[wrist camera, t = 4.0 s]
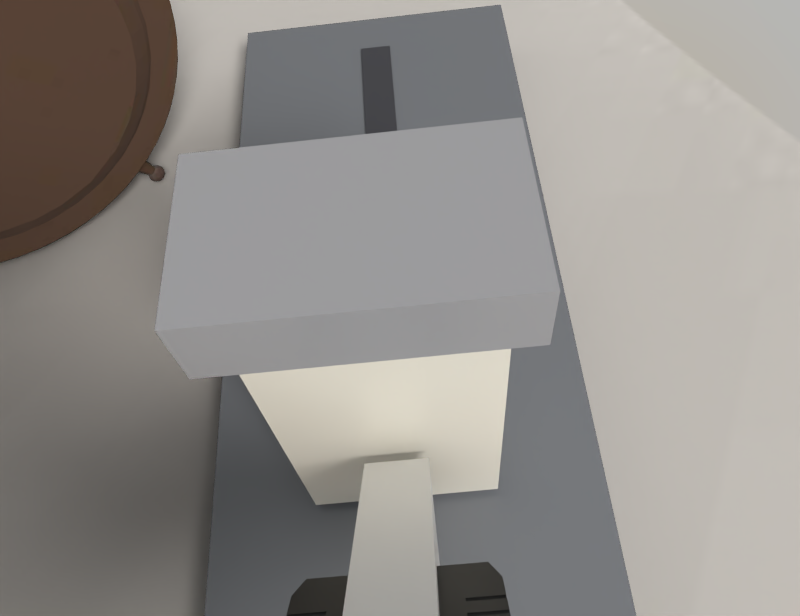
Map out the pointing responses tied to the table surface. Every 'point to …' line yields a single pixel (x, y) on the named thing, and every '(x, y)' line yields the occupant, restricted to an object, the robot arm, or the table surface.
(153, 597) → the table surface
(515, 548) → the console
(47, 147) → the alarm clock
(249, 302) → the fader tab
